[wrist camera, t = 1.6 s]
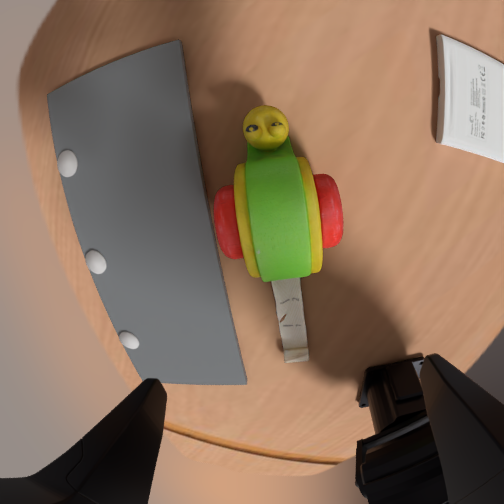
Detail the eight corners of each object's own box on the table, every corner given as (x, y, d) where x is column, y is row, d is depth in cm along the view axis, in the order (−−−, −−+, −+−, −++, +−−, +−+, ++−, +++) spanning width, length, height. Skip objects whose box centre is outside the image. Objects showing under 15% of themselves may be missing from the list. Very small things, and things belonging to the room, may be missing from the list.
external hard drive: (529, 172, 15) (431, 141, 16) (533, 89, 12) (431, 36, 12) (540, 177, 14) (443, 144, 15) (544, 89, 10) (443, 32, 11)
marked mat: (247, 379, 26) (246, 386, 25) (144, 377, 27) (142, 382, 26) (181, 41, 14) (178, 38, 13) (51, 94, 15) (45, 94, 15)
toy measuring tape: (315, 102, 15) (340, 91, 10) (331, 348, 24) (342, 409, 18) (212, 116, 16) (180, 114, 10) (258, 356, 24) (254, 417, 18)
